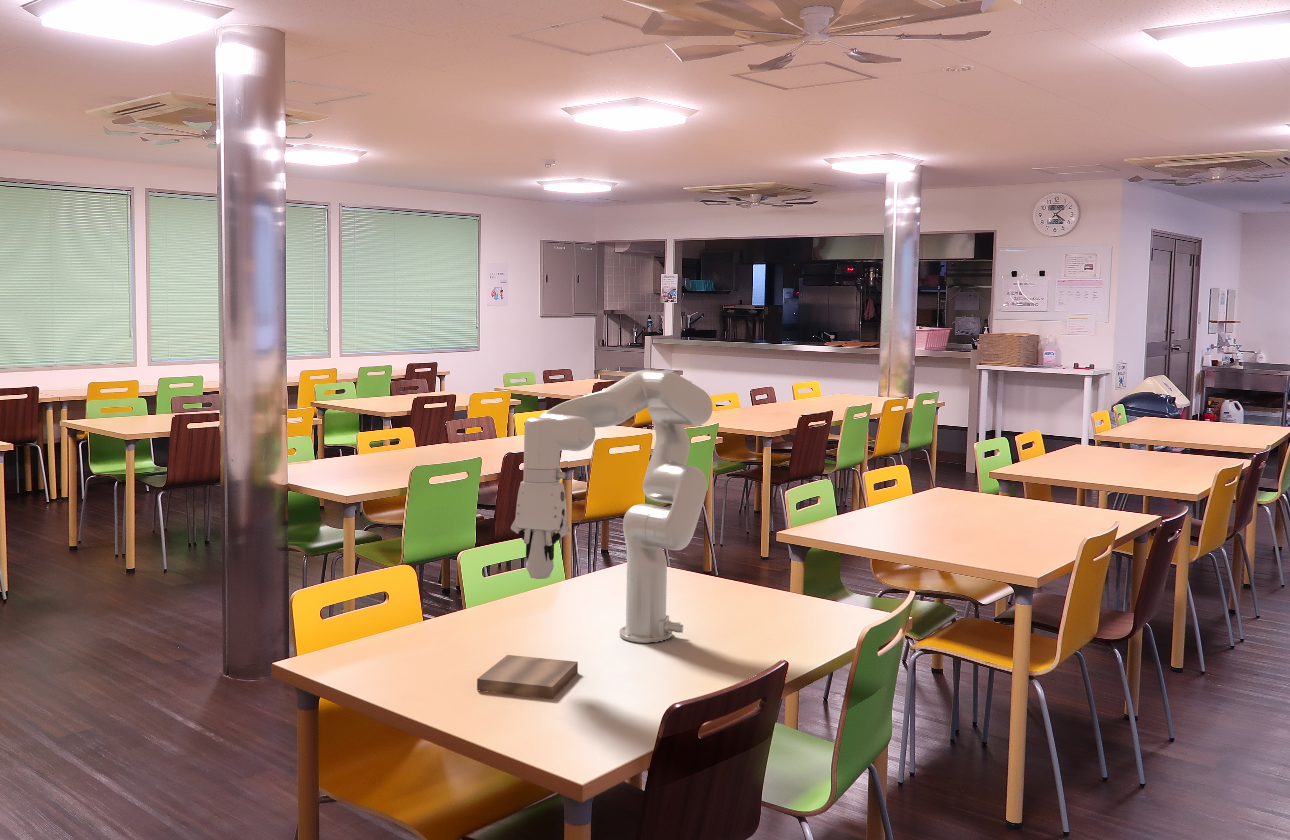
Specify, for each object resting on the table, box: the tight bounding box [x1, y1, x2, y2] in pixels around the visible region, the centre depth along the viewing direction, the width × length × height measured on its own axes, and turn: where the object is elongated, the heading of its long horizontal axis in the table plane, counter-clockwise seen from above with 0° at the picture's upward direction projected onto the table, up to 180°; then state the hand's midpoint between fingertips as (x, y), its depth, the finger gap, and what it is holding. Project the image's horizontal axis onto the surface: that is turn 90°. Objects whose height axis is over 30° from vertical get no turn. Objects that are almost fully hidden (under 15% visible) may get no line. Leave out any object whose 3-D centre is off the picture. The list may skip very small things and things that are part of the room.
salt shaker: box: [525, 530, 555, 580], centre depth 219 cm, size 6×6×13 cm
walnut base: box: [476, 654, 579, 700], centre depth 215 cm, size 16×16×3 cm
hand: (539, 561), depth 219 cm, fingers closed on salt shaker, 3 cm apart
